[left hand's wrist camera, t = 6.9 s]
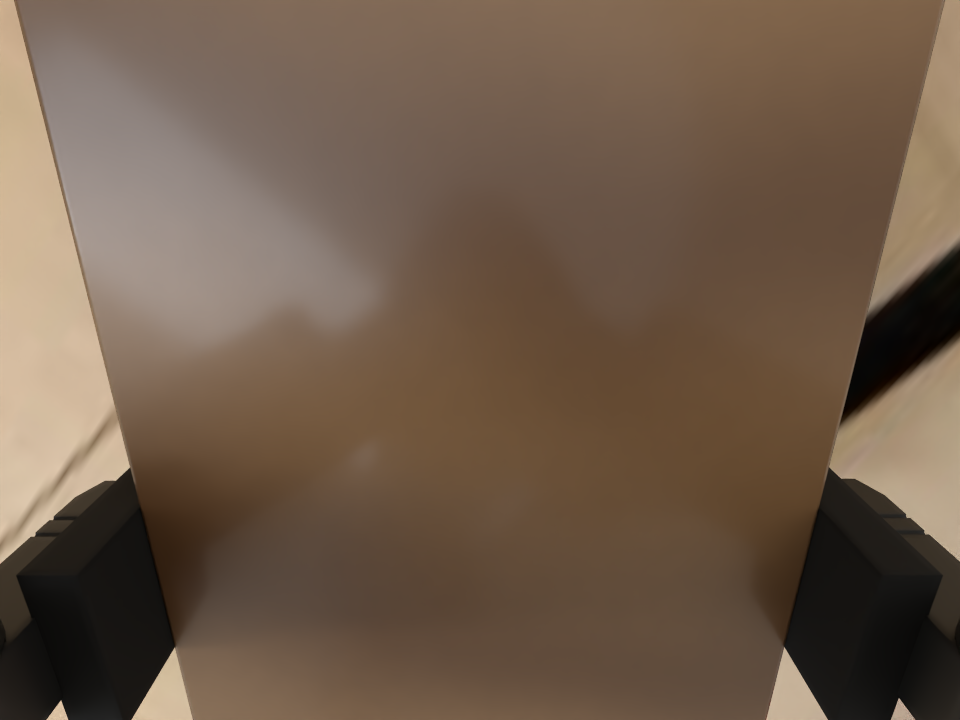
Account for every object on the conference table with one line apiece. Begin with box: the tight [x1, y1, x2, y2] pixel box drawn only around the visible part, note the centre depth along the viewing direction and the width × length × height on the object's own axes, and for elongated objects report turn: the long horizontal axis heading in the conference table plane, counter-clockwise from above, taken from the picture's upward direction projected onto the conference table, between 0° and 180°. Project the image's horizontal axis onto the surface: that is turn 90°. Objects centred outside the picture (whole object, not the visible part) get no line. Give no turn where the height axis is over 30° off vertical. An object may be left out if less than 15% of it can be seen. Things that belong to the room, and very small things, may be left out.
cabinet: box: [14, 0, 945, 720], centre depth 11 cm, size 21×10×8 cm, turn 0°
